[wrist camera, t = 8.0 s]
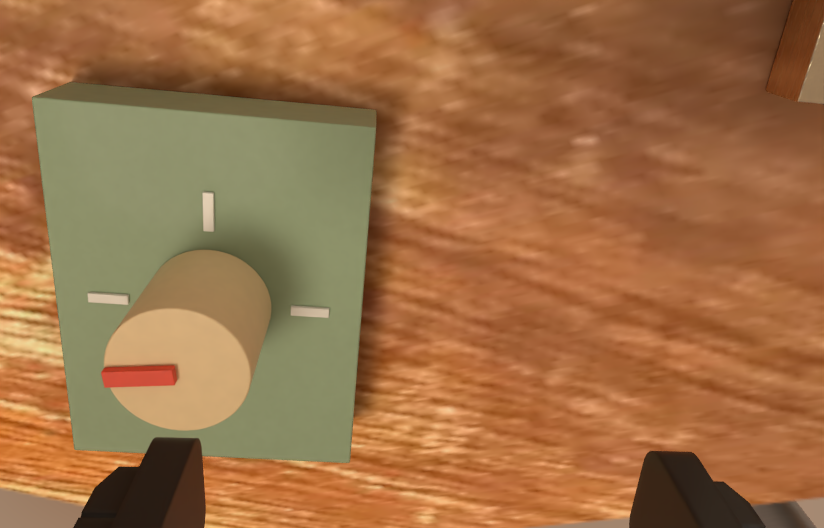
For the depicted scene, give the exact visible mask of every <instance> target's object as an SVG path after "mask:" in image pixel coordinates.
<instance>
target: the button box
mask: <svg viewBox="0 0 824 528" xmlns="http://www.w3.org/2000/svg"><path fill="white" fill-rule="evenodd" d="M766 91H767V92H769V93H772V94H775V95H778V96H781V97H784V98H787V99H790V100H793V101H796V102H802V103H813V104H823V105H824V0H793V1H792V4H791V8H790V11H789V14H788V18H787V21H786V24H785V28H784V31H783V34H782V38H781V41H780V44H779V48H778V51H777V54H776V57H775V61H774V64H773V67H772V71H771V74H770V77H769V81H768V84H767V87H766Z"/></svg>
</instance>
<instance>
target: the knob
mask: <svg viewBox="0 0 824 528" xmlns="http://www.w3.org/2000/svg"><path fill="white" fill-rule="evenodd" d="M270 318H271V299H270V295H269V292H268V289H267V287H266V285H265V283H264V282H263V280H262V279H261V277H260V276H259V275H258V274H257V272H256V271H255V270H254V269H253V268H252V267H250V266H249V265H248V264H247V263H245V262H244V261H242V260H241V259H239V258H237V257H235V256H233V255H230V254H228V253H224V252H220V251H215V250H193V251H189V252H185V253H182V254H179V255H177V256H175V257H173V258H171V259H170V260H169V261H167V262H166V263H165V264H164V265H163V266H161V267H160V269H159V270H158V271H157V272H156V274H155V275H154V277H153V278H152V279H151V281H150V282H149V284H148V285H147V286H146V288H145V289H144V291H143V292H142V293H141V295H140V296H139V298H138V299H137V301H136V302H135V303H134V305H133V306H132V308H131V309H130V310H129V312H128V313H127V315H126V316H125V317H124V319H123V320H122V322H121V323H120V324H119V326H118V327H117V329H116V330H115V332H114V333H113V334H112V336H111V338H110V340H109V341H108V344H107V347H106V350H105V355H104V369H103V370H102V372H101V375H102V379H103V384H104V387H105V388H110V389H111V391H112V392H113V394H114V395H115V397H116V398H117V399H118V401H119V402H120V403H121V404H122V405H123V406H124V407H125V408H126V409H127V410H128V411H130V412H131V413H132V414H134V415H135V416H137V417H138V418H140V419H142V420H144V421H146V422H148V423H150V424H152V425H155V426H158V427H162V428H166V429H171V430H183V431H189V430H199V429H204V428H207V427H211V426H214V425H216V424H218V423H220V422H222V421H224V420H225V419H227V418H229V417H230V416H231V415H232V414H234V413H235V412H236V411H237V410H238V409H239V407H240V406H241V405H242V403H243V402H244V400H245V399H246V397H247V394H248V392H249V389H250V385H251V382H252V379H253V375H254V372H255V369H256V365H257V362H258V359H259V355H260V352H261V349H262V345H263V342H264V339H265V335H266V332H267V329H268V325H269V322H270Z"/></svg>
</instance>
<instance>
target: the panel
mask: <svg viewBox="0 0 824 528" xmlns="http://www.w3.org/2000/svg"><path fill="white" fill-rule="evenodd" d="M32 103H33V112H34V120H35V128H36V136H37V145H38V153H39V161H40V169H41V177H42V186H43V194H44V202H45V210H46V219H47V227H48V235H49V243H50V252H51V260H52V268H53V276H54V285H55V293H56V301H57V309H58V318H59V326H60V334H61V342H62V351H63V359H64V367H65V375H66V384H67V392H68V400H69V408H70V416H71V425H72V433H73V441H74V449H75V450H88V451H109V452H130V453H146V452H147V450H148V448H149V445H150V443H151V442H152V440H153V439H154V438H155V437H175V438H199V439H200V442H201V447H202V456H213V457H234V458H255V459H276V460H297V461H318V462H339V463H349V462H350V454H351V442H352V429H353V416H354V404H355V391H356V379H357V366H358V353H359V341H360V328H361V316H362V303H363V290H364V278H365V265H366V253H367V240H368V228H369V215H370V202H371V190H372V177H373V165H374V152H375V139H376V110H373V109H362V108H351V107H340V106H329V105H318V104H307V103H296V102H285V101H274V100H263V99H252V98H241V97H230V96H219V95H208V94H197V93H186V92H175V91H164V90H153V89H142V88H131V87H120V86H110V85H99V84H88V83H77V82H69V83H67V84H64V85H62V86H59V87H56V88H54V89H51V90H49V91H46V92H44V93H41V94H39V95H36V96H33V97H32ZM193 250H215V251H220V252H224V253H228V254H230V255H233V256H235V257H237V258H239V259H241V260H242V261H244V262H245V263H247V264H248V265H249V266H250V267H252V268H253V269H254V270H255V271H256V272H257V274H258V275H259V276H260V277H261V279H262V280H263V282H264V283H265V285H266V287H267V289H268V292H269V295H270V299H271V318H270V322H269V325H268V329H267V332H266V335H265V339H264V342H263V345H262V349H261V352H260V355H259V359H258V362H257V365H256V369H255V372H254V375H253V379H252V382H251V385H250V389H249V392H248V394H247V397H246V399H245V400H244V402H243V403H242V405H241V406H240V407H239V409H238V410H237V411H236V412H235V413H234V414H232V415H231V416H230V417H229V418H227V419H225V420H224V421H222V422H220V423H218V424H216V425H214V426H211V427H207V428H204V429H199V430H189V431H183V430H171V429H166V428H162V427H158V426H155V425H152V424H150V423H148V422H146V421H144V420H142V419H140V418H138V417H137V416H135V415H134V414H132V413H131V412H130V411H128V410H127V409H126V408H125V407H124V406H123V405H122V404H121V403H120V402H119V401H118V399H117V398H116V397H115V395H114V394H113V392H112V391H111V389H110V388H105V387H104V384H103V379H102V375H101V372H102V370H103V369H104V355H105V350H106V347H107V344H108V341H109V340H110V338H111V336H112V334H113V333H114V332H115V330H116V329H117V327H118V326H119V324H120V323H121V322H122V320H123V319H124V317H125V316H126V315H127V313H128V312H129V310H130V309H131V308H132V306H133V305H134V303H135V302H136V301H137V299H138V298H139V296H140V295H141V293H142V292H143V291H144V289H145V288H146V286H147V285H148V284H149V282H150V281H151V279H152V278H153V277H154V275H155V274H156V272H157V271H158V270H159V269H160V267H161V266H163V265H164V264H165V263H166V262H167V261H169V260H170V259H171V258H173V257H175V256H177V255H179V254H182V253H185V252H189V251H193Z"/></svg>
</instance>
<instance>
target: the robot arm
mask: <svg viewBox="0 0 824 528" xmlns="http://www.w3.org/2000/svg"><path fill="white" fill-rule="evenodd" d="M205 510H206V507H205V490H204V475H203V460H202V447H201V442H200V439H199V438H175V437H155V438H154V439H153V440H152V442H151V443H150V445H149V448H148V450H147V452H146V454H145V456H144V458H143V460H142V462H141V464H140V466H139V467H118V468H117V469H116V470H115V471H114V472H113V473H111V474H110V475H109V476H108V477H107V478H106V479H104V480H103V481H102V482H101V483H100V484H99V485H98V486H96V487H95V489H94V491H93V492H92V494H91V496H90V498H89V500H88V502H87V503H86V505H85V507H84V509H83V511H82V515H81V518H78V520H77V522H76V524H75V526H74V528H204V525H205ZM765 527H766V526H765V525H764V524H763V522H762V521H761V519H760V518H759V516H758V515H757V514H756V512H755V511H754V509H753V508H752V506H751V505H750V503H749V502H748V501H746V500H745V499H744V498H743V497H741V496H740V495H739V494H738V493H737V492H735V491H734V490H733V489H732V488H731V487H729V486H728V485H727V484H726V483H724V482H713V480H712V479H711V477H710V476H709V474H708V473H707V471H706V469H705V468H704V466H703V465H702V463H701V462H700V460H699V459H698V457H697V456H696V455H695V454H694V453H692V452H670V451H650V452H648V453H647V455H646V457H645V459H644V462H643V466H642V470H641V474H640V478H639V482H638V486H637V490H636V494H635V498H634V502H633V506H632V510H631V514H630V523H629V528H765Z"/></svg>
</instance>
